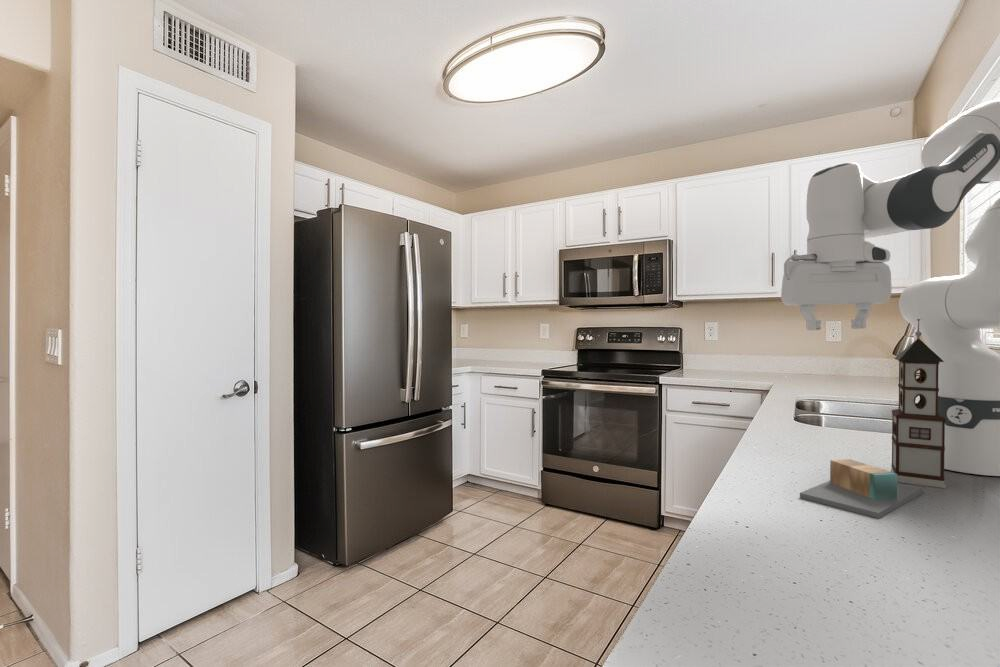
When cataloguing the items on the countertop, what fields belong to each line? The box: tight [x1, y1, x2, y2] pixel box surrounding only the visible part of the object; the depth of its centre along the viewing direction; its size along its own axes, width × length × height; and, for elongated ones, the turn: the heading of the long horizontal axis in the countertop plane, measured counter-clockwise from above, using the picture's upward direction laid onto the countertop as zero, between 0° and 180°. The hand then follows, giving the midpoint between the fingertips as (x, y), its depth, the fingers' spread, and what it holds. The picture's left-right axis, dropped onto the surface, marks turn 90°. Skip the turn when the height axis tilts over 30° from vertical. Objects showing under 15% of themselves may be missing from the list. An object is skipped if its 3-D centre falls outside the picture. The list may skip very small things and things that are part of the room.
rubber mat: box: [799, 480, 924, 519], centre depth 85 cm, size 20×11×1 cm, turn 125°
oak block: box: [829, 458, 898, 500], centre depth 85 cm, size 4×4×9 cm
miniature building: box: [889, 319, 947, 489], centre depth 93 cm, size 7×7×30 cm
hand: (836, 329), depth 92 cm, fingers open, 8 cm apart
